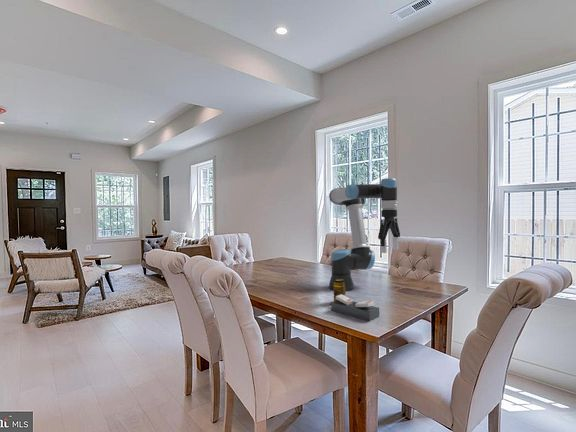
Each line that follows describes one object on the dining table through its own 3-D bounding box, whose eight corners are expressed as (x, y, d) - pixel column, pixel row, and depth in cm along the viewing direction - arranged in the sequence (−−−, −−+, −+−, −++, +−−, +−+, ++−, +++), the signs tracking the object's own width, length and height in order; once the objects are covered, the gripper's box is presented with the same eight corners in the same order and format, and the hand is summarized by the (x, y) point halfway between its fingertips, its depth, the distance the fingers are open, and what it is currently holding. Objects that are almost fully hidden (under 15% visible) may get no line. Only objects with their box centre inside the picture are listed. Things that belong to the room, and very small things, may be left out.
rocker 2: (355, 307, 139) (355, 303, 139) (361, 304, 142) (360, 301, 142) (368, 306, 134) (368, 303, 134) (374, 304, 137) (373, 300, 137)
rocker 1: (335, 298, 147) (336, 295, 146) (341, 296, 150) (341, 293, 150) (347, 305, 142) (348, 301, 142) (352, 302, 145) (353, 299, 145)
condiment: (330, 303, 159) (330, 280, 159) (339, 299, 165) (338, 277, 165) (342, 305, 154) (342, 282, 154) (351, 301, 161) (350, 278, 160)
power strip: (325, 309, 149) (325, 299, 149) (335, 305, 155) (335, 296, 155) (369, 321, 132) (369, 310, 131) (379, 316, 137) (379, 306, 137)
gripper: (385, 209, 142) (385, 255, 142) (406, 208, 160) (406, 248, 161) (370, 209, 147) (371, 253, 147) (392, 208, 165) (393, 247, 166)
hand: (389, 251), depth 154 cm, fingers open, 13 cm apart
